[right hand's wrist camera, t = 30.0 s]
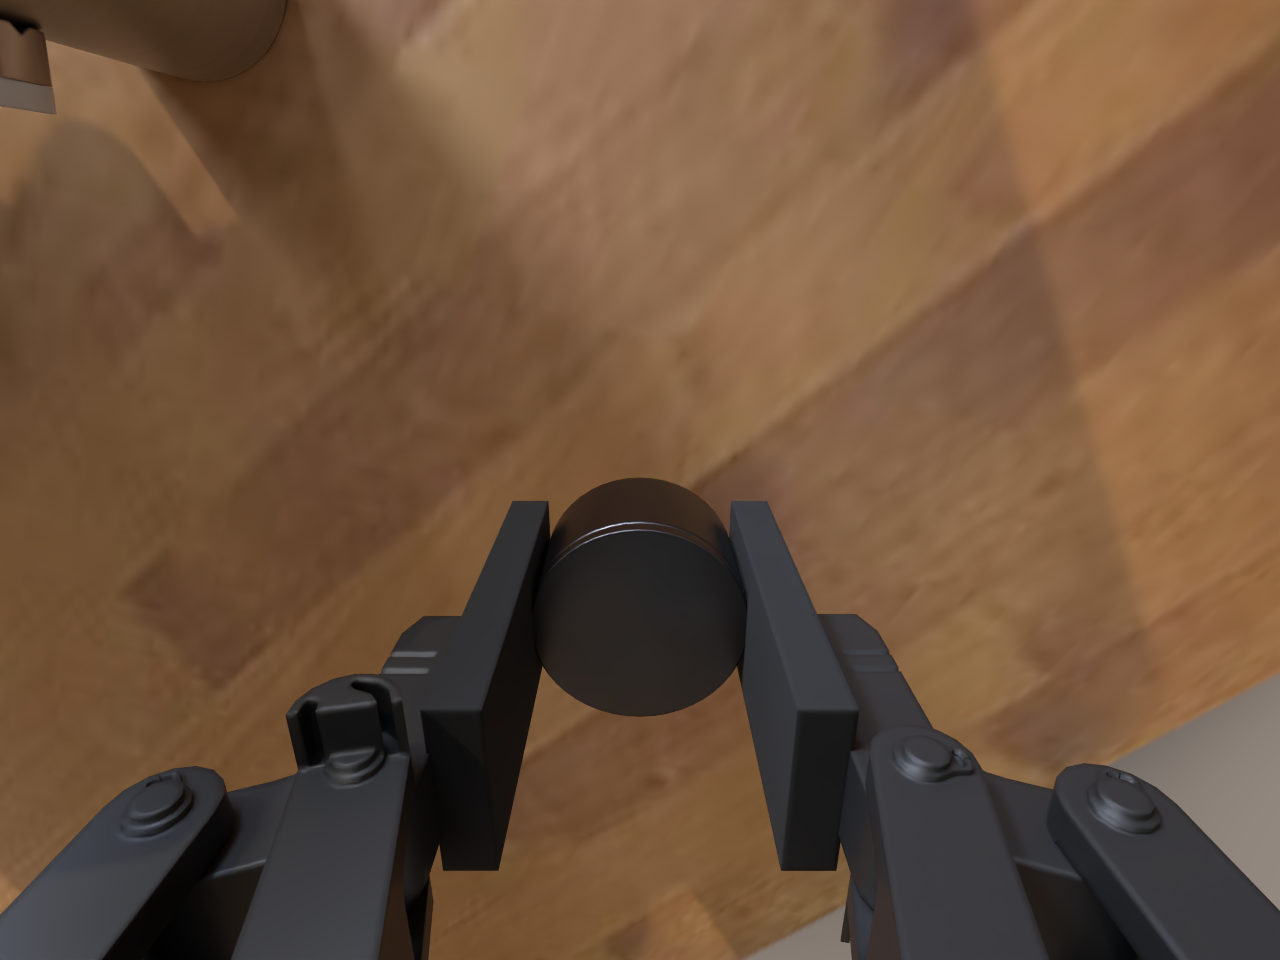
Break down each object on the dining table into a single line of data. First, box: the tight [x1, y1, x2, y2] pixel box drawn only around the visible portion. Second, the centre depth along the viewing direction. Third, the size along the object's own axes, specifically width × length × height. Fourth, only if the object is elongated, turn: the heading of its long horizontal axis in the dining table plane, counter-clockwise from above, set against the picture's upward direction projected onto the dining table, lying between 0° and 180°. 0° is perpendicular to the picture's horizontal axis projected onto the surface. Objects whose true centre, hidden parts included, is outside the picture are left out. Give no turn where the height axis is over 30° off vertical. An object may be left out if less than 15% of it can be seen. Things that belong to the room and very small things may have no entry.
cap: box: [532, 478, 747, 717], centre depth 14 cm, size 4×4×3 cm
